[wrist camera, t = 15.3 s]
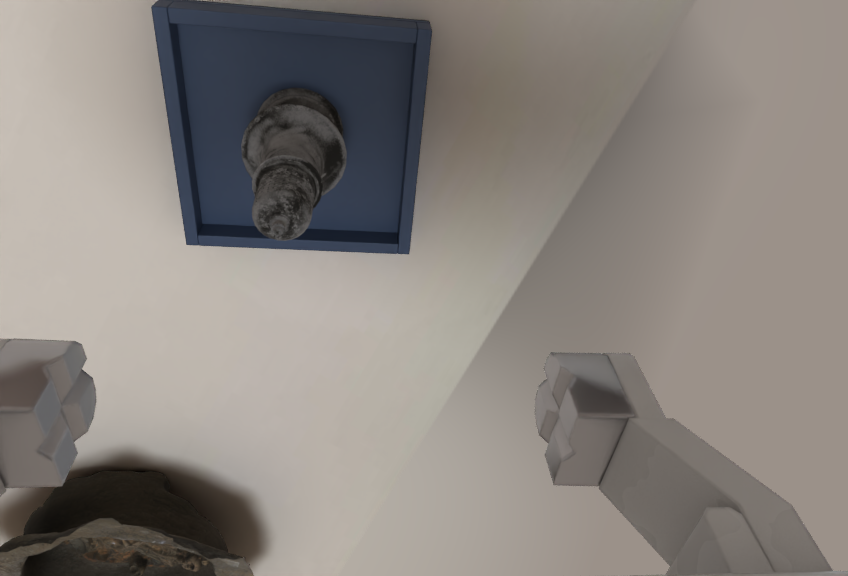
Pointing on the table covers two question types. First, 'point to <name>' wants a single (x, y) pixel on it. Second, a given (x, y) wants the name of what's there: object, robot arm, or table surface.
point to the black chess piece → (292, 159)
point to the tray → (282, 69)
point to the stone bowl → (118, 533)
